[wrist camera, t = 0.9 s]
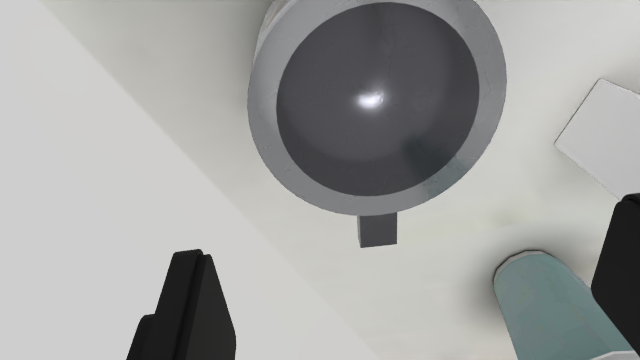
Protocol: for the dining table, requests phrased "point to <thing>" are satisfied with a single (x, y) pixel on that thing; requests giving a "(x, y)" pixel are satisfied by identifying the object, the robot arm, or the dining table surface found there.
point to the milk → (606, 138)
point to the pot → (374, 102)
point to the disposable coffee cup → (554, 312)
